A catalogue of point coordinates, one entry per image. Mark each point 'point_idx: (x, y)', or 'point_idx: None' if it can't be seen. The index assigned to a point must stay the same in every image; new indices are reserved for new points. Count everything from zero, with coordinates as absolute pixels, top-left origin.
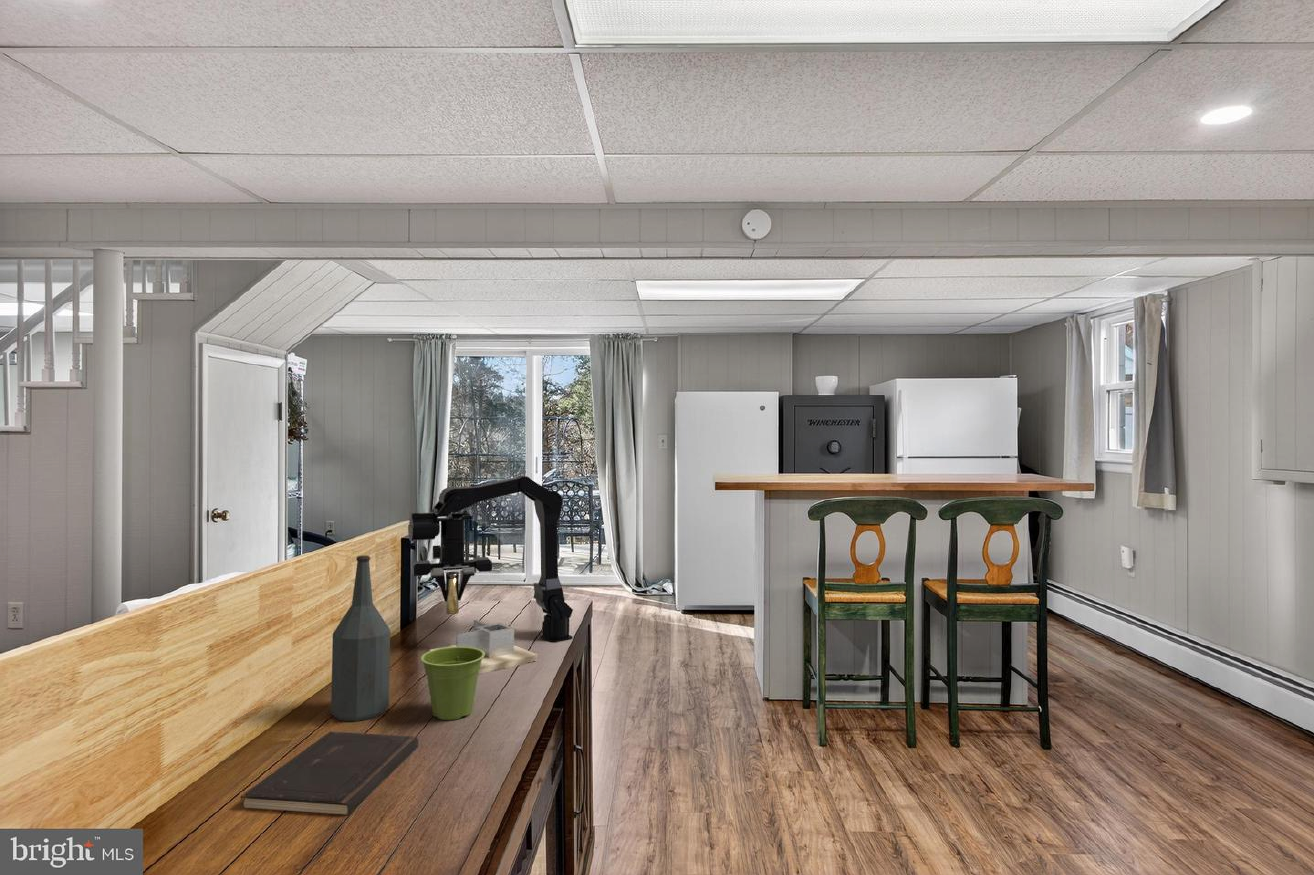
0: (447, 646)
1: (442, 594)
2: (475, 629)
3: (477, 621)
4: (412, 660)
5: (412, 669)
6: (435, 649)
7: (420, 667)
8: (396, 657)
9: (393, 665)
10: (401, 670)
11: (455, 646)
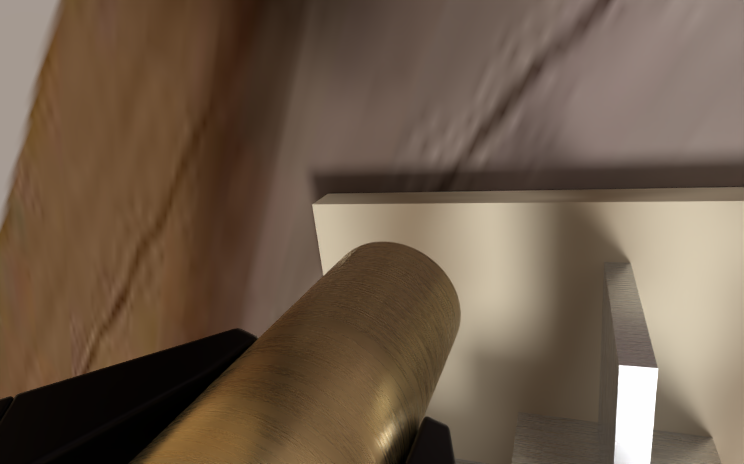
0: (426, 207)
1: (151, 358)
2: (611, 349)
3: (617, 429)
4: (240, 212)
5: (218, 331)
6: (343, 220)
7: (251, 330)
8: (182, 111)
9: (159, 230)
10: (180, 313)
11: (471, 237)
